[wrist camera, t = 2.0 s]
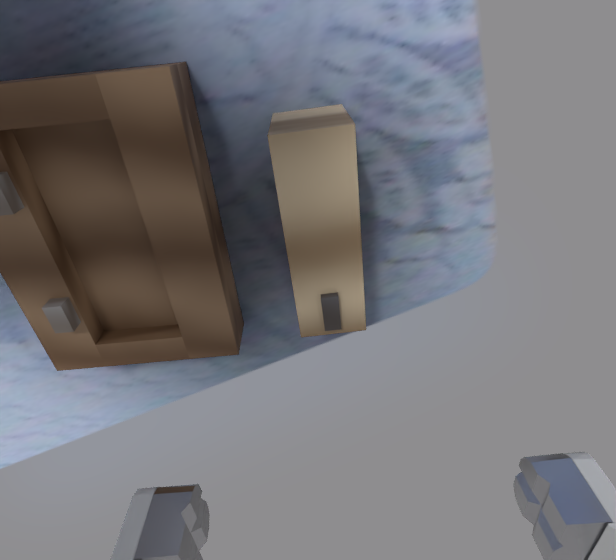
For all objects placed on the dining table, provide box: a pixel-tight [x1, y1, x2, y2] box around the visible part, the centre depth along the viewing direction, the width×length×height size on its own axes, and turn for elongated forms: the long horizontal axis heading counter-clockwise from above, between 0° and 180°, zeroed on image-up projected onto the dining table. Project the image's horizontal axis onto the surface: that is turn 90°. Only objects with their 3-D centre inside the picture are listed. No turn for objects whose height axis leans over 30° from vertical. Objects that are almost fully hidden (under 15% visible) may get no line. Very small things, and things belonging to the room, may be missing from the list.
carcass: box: [0, 62, 244, 371], centre depth 25 cm, size 18×13×4 cm
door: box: [267, 104, 366, 337], centre depth 24 cm, size 12×4×6 cm, turn 7°
